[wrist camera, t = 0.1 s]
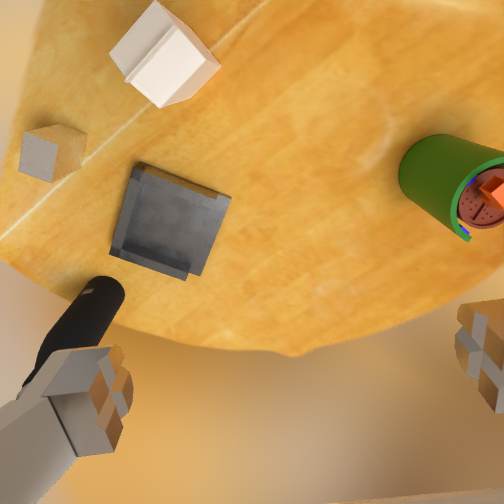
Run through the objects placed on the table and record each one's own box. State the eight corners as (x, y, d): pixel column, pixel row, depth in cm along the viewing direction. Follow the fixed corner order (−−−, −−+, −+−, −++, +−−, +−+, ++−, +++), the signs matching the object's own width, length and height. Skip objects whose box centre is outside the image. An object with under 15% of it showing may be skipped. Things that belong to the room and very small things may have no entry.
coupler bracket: (231, 197, 57) (229, 205, 53) (200, 273, 62) (197, 285, 59) (141, 161, 55) (133, 167, 51) (117, 243, 60) (108, 254, 57)
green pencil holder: (428, 211, 58) (508, 272, 40) (384, 180, 56) (447, 229, 38) (478, 155, 54) (591, 193, 36) (432, 119, 52) (528, 141, 34)
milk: (222, 66, 50) (204, 58, 30) (190, 99, 51) (152, 113, 31) (188, 26, 48) (145, -11, 28) (156, 62, 50) (93, 51, 29)
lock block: (88, 134, 53) (58, 145, 45) (80, 167, 55) (50, 183, 47) (58, 123, 53) (22, 131, 45) (52, 156, 55) (16, 170, 46)
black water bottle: (111, 315, 66) (11, 482, 39) (79, 293, 64) (-50, 452, 37) (132, 291, 64) (43, 450, 37) (100, 268, 62) (-19, 417, 35)
